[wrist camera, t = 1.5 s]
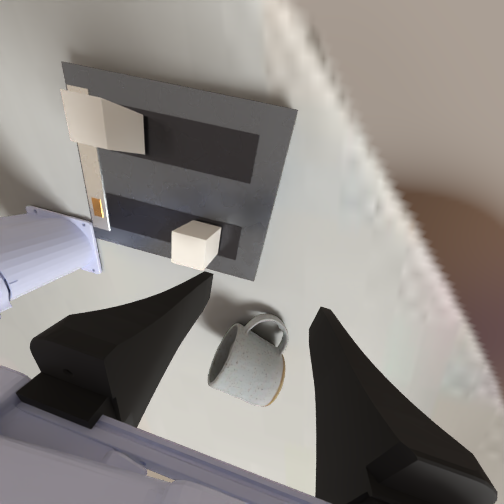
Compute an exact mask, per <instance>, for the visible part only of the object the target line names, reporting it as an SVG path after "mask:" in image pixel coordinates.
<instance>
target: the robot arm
mask: <svg viewBox="0 0 504 504" xmlns="http://www.w3.org/2000/svg"><path fill="white" fill-rule="evenodd" d="M26 211H27V213H26V214H19V215H13V216H7V217H0V313H1V312H3V311H5V310H7V309H9V308H11V307H12V305H11V304H10V302H9V301H11V300H14V299H16V298H18V297H20V296H22V295H24V294H26V293H29V292H31V291H33V290H35V289H37V288H39V287H41V286H44V285H46V284H48V283H50V282H52V281H54V280H56V279H59V278H61V277H63V276H65V275H67V274H69V273H71V272H74V271H76V270H78V269H82V270H86V271H89V272H93V273H96V274H100V273H101V272H102V269H101V264H100V259H99V253H98V248H97V243H96V238H95V235H94V230H93V225H92V223H91V222H90V221H86V220H83V219H79V218H75V217H72V216H68V215H64V214H60V213H57V212H53V211H49V210H46V209H42V208H38V207H34V206H26ZM212 279H213V274H212V273H208V272H205V271H204V272H203V273H201V274H199V275H197V276H195V277H193V278H191V279H189V280H188V281H186V282H184V283H182V284H180V285H178V286H175V287H173V288H171V289H169V290H167V291H164V292H162V293H159V294H157V295H154V296H151V297H148V298H145V299H142V300H139V301H135V302H132V303H128V304H125V305H120V306H116V307H112V308H107V309H102V310H97V311H91V312H85V313H79V314H72V315H69V316H67V317H65V318H64V319H62V320H61V321H59V322H58V323H56V324H54V325H53V326H51V327H50V328H48V329H47V330H45V331H44V332H42V333H41V334H39V335H37V336H36V337H34V338H33V339H32V341H31V343H30V350H31V353H32V355H33V357H34V359H35V361H36V363H37V365H38V367H39V369H40V371H41V373H39V374H38V375H37V376H36V377H34V378H33V379H32V380H31V378H29V377H28V376H27V375H25V374H23V373H20V372H17V371H15V370H12V369H10V368H7V367H4V366H0V504H494V503H495V502H496V501H497V491H496V489H495V488H494V486H493V485H492V483H491V481H490V480H489V478H488V477H487V475H486V474H485V472H484V471H483V469H482V467H481V466H480V464H479V463H478V461H477V460H476V458H475V457H474V455H473V454H472V453H471V452H470V451H468V450H467V449H466V448H465V447H464V446H462V445H461V444H460V443H459V442H457V441H456V440H455V439H454V438H452V437H451V436H450V435H449V434H447V433H446V432H445V431H444V430H443V429H441V428H440V427H439V426H438V425H436V424H435V423H434V422H433V421H432V420H431V419H429V418H428V417H427V416H426V415H425V414H424V413H423V412H421V411H420V410H419V409H418V408H417V407H416V406H415V405H414V404H413V403H411V402H410V401H409V400H408V399H407V398H406V397H405V396H404V395H403V394H402V393H401V392H400V391H399V390H398V389H397V388H396V387H395V386H394V385H393V384H392V383H391V382H390V381H389V380H388V379H387V378H386V377H385V376H384V375H383V374H382V373H381V372H380V371H379V370H378V369H377V368H376V367H375V366H374V365H373V363H372V362H371V361H370V360H369V359H368V358H367V357H366V355H365V354H364V353H363V352H362V351H361V349H360V348H359V347H358V346H357V344H356V343H355V342H354V341H353V339H352V338H351V337H350V335H349V334H348V333H347V331H346V330H345V329H344V327H343V326H342V324H341V323H340V322H339V320H338V319H337V318H336V316H335V315H334V314H333V312H332V311H331V310H330V309H327V308H324V307H320V309H319V311H318V313H317V315H316V317H315V319H314V321H313V322H312V324H311V326H310V328H309V348H310V356H311V363H312V370H313V378H314V386H315V401H316V495H315V497H313V496H311V495H308V494H306V493H303V492H300V491H298V490H295V489H293V488H290V487H288V486H285V485H282V484H280V483H277V482H275V481H272V480H270V479H267V478H264V477H262V476H259V475H257V474H254V473H252V472H249V471H246V470H244V469H241V468H239V467H236V466H234V465H231V464H228V463H226V462H223V461H221V460H218V459H216V458H213V457H210V456H208V455H205V454H203V453H200V452H198V451H195V450H192V449H190V448H187V447H185V446H182V445H180V444H177V443H174V442H172V441H169V440H167V439H164V438H162V437H159V436H156V435H154V434H151V433H149V432H146V431H144V430H141V429H138V428H137V426H138V424H139V422H140V420H141V418H142V416H143V414H144V412H145V410H146V408H147V406H148V404H149V402H150V400H151V398H152V396H153V394H154V392H155V390H156V388H157V386H158V384H159V382H160V380H161V378H162V377H163V375H164V373H165V371H166V369H167V367H168V365H169V364H170V362H171V360H172V358H173V356H174V355H175V353H176V351H177V349H178V347H179V346H180V344H181V342H182V341H183V339H184V338H185V336H186V335H187V333H188V332H189V331H190V329H191V328H192V326H193V325H194V323H195V322H196V320H197V319H198V317H199V316H200V314H201V313H202V311H203V310H204V308H205V306H206V304H207V302H208V300H209V298H210V292H211V286H212ZM0 319H1V314H0ZM145 468H146V469H149V470H151V471H153V472H156V473H158V474H161V475H163V476H166V477H168V478H171V479H173V480H175V481H174V482H172V483H170V482H167V481H164V480H160V479H156V478H153V477H149V476H146V475H147V470H146V469H145Z"/></svg>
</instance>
